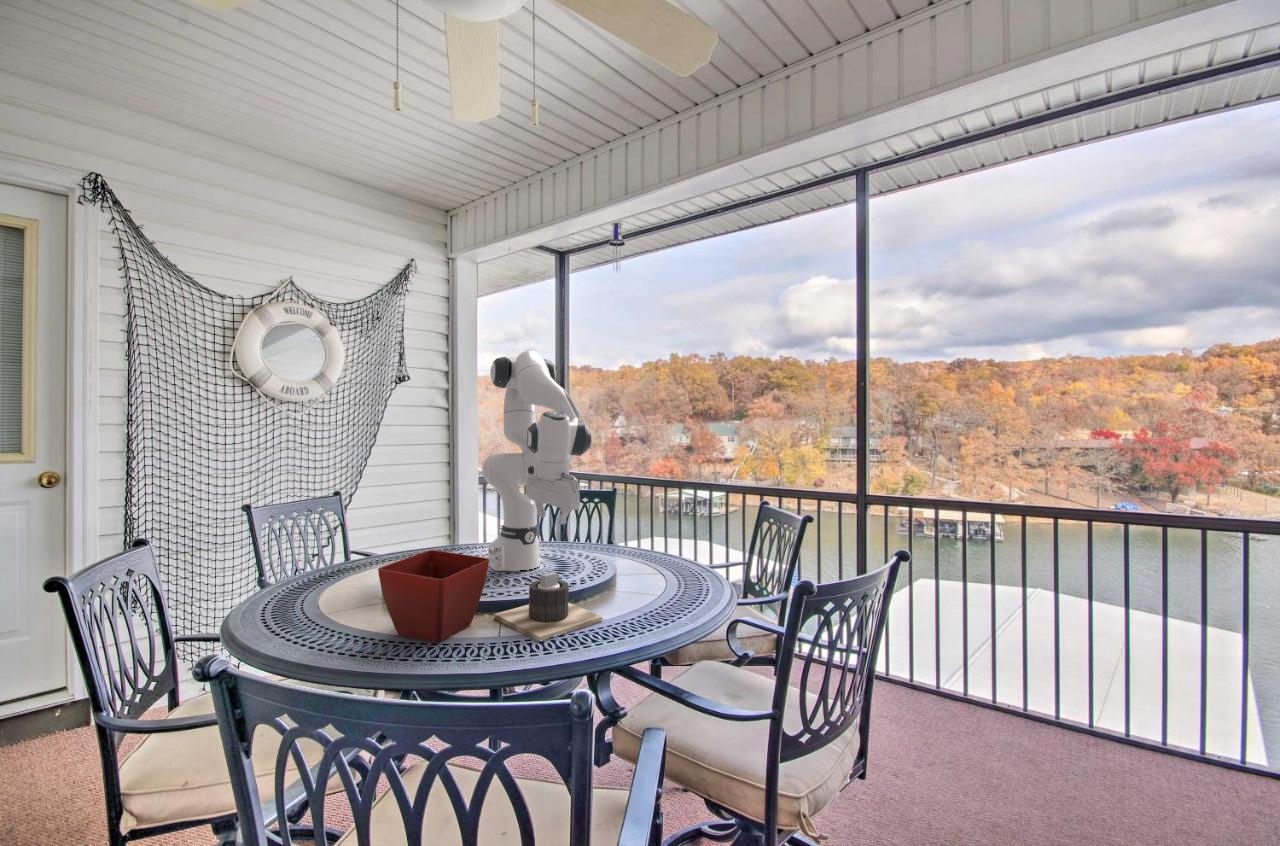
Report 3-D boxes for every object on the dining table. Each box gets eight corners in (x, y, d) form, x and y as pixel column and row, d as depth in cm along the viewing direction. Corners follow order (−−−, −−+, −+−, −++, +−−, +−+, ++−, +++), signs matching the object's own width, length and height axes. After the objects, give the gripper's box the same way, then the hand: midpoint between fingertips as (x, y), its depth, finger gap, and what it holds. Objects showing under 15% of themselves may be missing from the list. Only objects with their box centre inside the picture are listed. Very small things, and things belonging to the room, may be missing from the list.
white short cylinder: (546, 597, 149) (546, 578, 149) (533, 592, 153) (533, 573, 153) (563, 593, 153) (564, 574, 153) (550, 587, 157) (551, 569, 157)
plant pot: (440, 652, 132) (441, 578, 132) (374, 638, 139) (375, 568, 138) (490, 622, 150) (491, 558, 150) (429, 611, 157) (430, 549, 156)
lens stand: (494, 618, 153) (495, 583, 153) (555, 601, 168) (556, 569, 167) (539, 642, 139) (540, 604, 139) (602, 621, 154) (603, 586, 153)
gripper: (586, 475, 156) (584, 526, 157) (541, 464, 170) (539, 511, 171) (567, 477, 152) (565, 530, 153) (522, 466, 166) (521, 514, 167)
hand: (551, 520), depth 162 cm, fingers open, 8 cm apart
